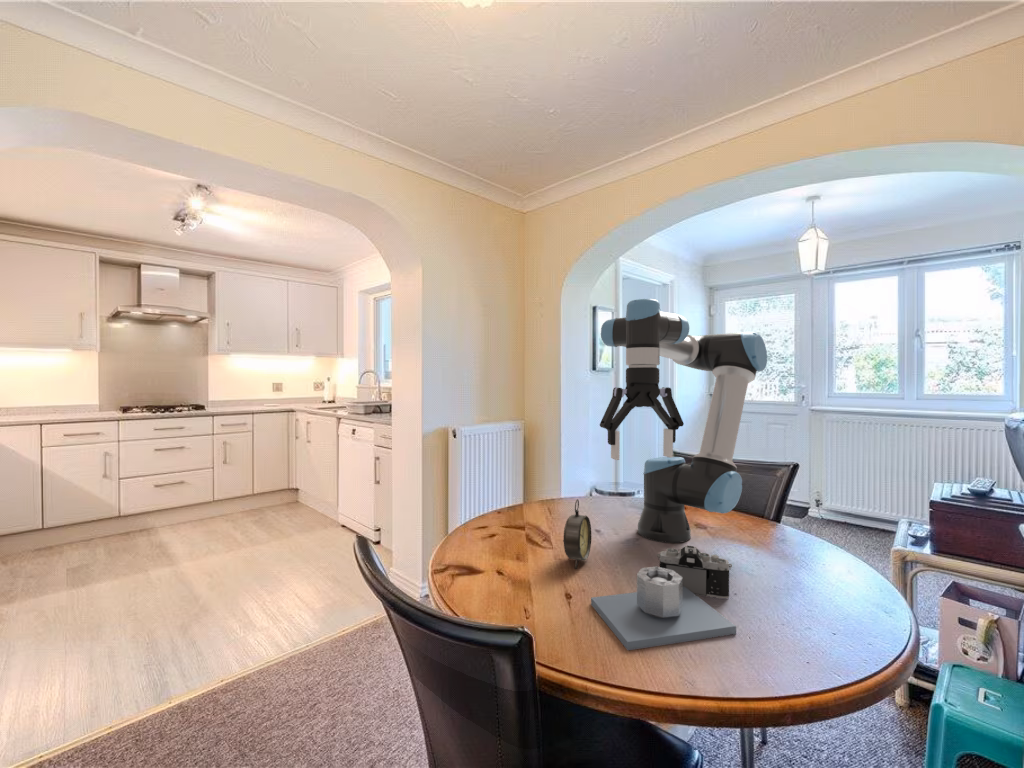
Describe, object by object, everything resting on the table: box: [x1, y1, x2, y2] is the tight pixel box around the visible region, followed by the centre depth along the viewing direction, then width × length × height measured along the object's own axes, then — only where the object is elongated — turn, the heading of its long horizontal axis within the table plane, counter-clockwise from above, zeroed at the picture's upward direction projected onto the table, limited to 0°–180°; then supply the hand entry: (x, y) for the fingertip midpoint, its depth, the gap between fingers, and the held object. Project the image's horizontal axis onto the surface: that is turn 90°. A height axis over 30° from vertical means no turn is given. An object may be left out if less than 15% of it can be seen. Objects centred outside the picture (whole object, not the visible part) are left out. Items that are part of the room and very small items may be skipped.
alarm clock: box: [562, 498, 592, 570], centre depth 115 cm, size 11×5×16 cm, turn 155°
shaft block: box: [590, 577, 737, 651], centre depth 88 cm, size 22×16×8 cm
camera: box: [656, 545, 733, 599], centre depth 101 cm, size 16×9×10 cm, turn 70°
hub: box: [636, 566, 683, 618], centre depth 88 cm, size 8×8×6 cm
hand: (641, 457), depth 104 cm, fingers open, 13 cm apart
